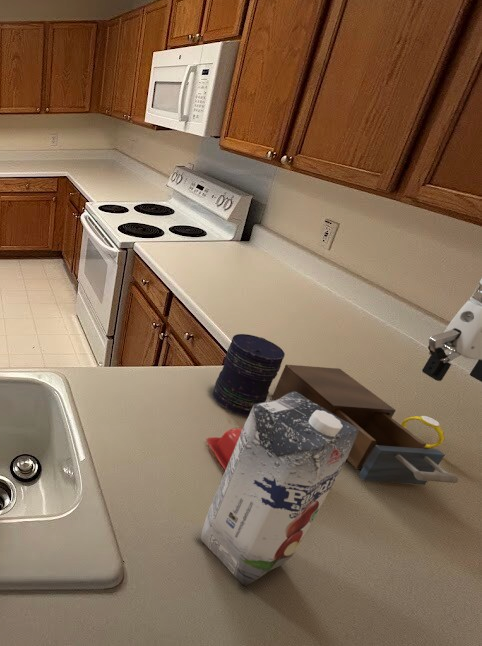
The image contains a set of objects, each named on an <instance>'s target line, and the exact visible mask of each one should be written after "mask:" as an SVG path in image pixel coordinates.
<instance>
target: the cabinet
mask: <svg viewBox="0 0 482 646" xmlns="http://www.w3.org/2000/svg"><path fill="white" fill-rule="evenodd" d="M293 391H295V392H297V393H299V394H301V395H302V396H304V397H305V398H307V399H309V400H310V401H312V402H314V403H315V404H317V405H319V406H321V407H322V408H324V409H326V410H327V411H329V412H331V413H332V414H333V413H334V411H335V409H343V410H356V411H370V412H384V413H386V414H387V415H389V416H390V417H391V418H392V419H393V416H394V414H395V413H396V411H397V410H396V409H395V408H394V407H393V406H391V405H390V404H389V403H387V402H386V401H384V400H383V399H382V398H380V397H379V396H378V395H376V394H375V393H374V392H372V391H371V390H369V389H368V388H367V387H365V386H364V385H363V384H361V383H360V382H359V381H358V380H356V379H355V378H353V377H352V376H350V375H349V374H348V373H346V372H345V371H344V370H343V369H341V368H336V367H325V366H324V367H322V366H311V365H295V364H285V366H284V368H283V370H282V372H281V375H280V377H279V380H278V381H277V383H276V387H275V388H274V391H273V394H271V395H272V396H271V398H273V399H274V401H275V400H278V399H280V398H282V397H283V396H285V395H287V394H288V393H290V392H293Z"/></svg>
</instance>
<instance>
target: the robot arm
mask: <svg viewBox="0 0 482 646" xmlns="http://www.w3.org/2000/svg"><path fill="white" fill-rule="evenodd" d="M427 349H428V351H429V352H428V355H430V356H429V357H428V359H427V361H426V363H425V364H424V366H423V368H422V370H421V372H422V373H423V374H425V375H426V376H428V377H429V378H431V379H433V380H434V381H437V382H441V381H443V379H444V378H445V376H446V374H447V373H448V371H449V369H450V368H451V366H452V363H450V362H452V361H453V360H455V359H457V358H458V357H460V356H462V357H463V358H465V359H467V360H468V359H469V360H477V361H476V363H475V365H474V366H473V368H472V369H471V371H470V373H469V376H470V377H472V378H474V379H475V380H477V381H479V382H481V383H482V278H481V279H480V280H479V282H478V284H477V285H476V287H475V289H474V290H473V292H472V293H471V295H470V297H469V299H468V300H467V301H466V302H465V303H464V304H463V306H461V308H460V309H459V310H458V311H457V313H456V314H455V315H454V316H453V318H452V319H451V320H450V322H449V324H447V326H446V328H445V330H444V331H443V332H441V333H437V334H435V335H431V336H429V338H428V346H427ZM446 351H449V352H448V353H447V354H446Z"/></svg>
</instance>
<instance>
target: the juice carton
mask: <svg viewBox="0 0 482 646" xmlns="http://www.w3.org/2000/svg"><path fill="white" fill-rule="evenodd" d="M242 428H243V430H242V432H241V434H240V437H239V439H238V441H237V444H236V446H235V449H234V451H233V453H232V456H231V458H230V461H229V463H228V465H227V468H226V470H224V473H223V475H222V478H221V480H220V482H219V485H218V487H217V489H216V491H215V495H214V497H213V499H212V501H211V504H210V507H209V508H208V511H207V513H206V516H205V520H204V524H203V527H202V531H201V534H200V539H201V541H202V542H203V544H204V546H206V547H207V548H208V549H209V550H210V551H211V552H212V554H213V555H214V556H216V558H217V559H218V560H219V561H220V562H221V563H222V564H223V565H224V566H225V567H226V568H227V570H228V571H229V572H230V573H231V574H232V575H233V577H235V578H236V580H237V581H238V582H239V583H240V584H241V585H243V586H249V585H251V584H253V583H254V582H256V581H257V580H259V579H260V578H262V577H263V576H264V575H265V574H267V573H268V572H271V571H273V570H274V569H277V568H279V567H280V566H281V565H284V563H286V562H287V561H289V560H290V559H291V558H292V557H293V556H294V554H295V552H296V551H297V549H298V548H299V546H300V544H301V543H302V540H303V539H304V537H305V535H306V534H307V532H308V530H309V528H310V527H311V524H312V523H313V521H314V519H315V518H316V516H317V514H318V513H319V511H320V509H321V507H322V505H323V504H324V501H325V500H326V498H327V496H328V494H329V493H330V492H331V491H330V490H331V489H332V487H333V485H334V484H335V481H336V480H337V478H338V476H339V475H340V473H341V471H342V469H343V467H344V465H345V463H346V462H347V461H348V460H347V457H348V455H349V453H350V450H351V448H352V446H353V443H354V441H355V439H356V437H357V434H358V432H359V429H357V428H356V427H355V426H353V425H351V424H349V423H348V422H346V421H344V420H342V419H341V418H339V417H337V416H336V415H334V414H332V413H331V412H329V411H327V410H326V409H324V408H322V407H321V406H319V405H317V404H315V403H314V402H312V401H310V400H309V399H307V398H305V397H304V396H302V395H301V394H299V393H297V392H295V391H293V392H290V393H288V394H287V395H285V396H283V397H282V398H280V399H278V400H275V399H274V400H270V401H266V402H263V403H258V404H255V405H253V407H252V410H251V412H250V414H249V417H248V416H247V419H246V421H245V423H244V425H243V427H242Z"/></svg>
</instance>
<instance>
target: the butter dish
mask: <svg viewBox="0 0 482 646" xmlns="http://www.w3.org/2000/svg"><path fill="white" fill-rule="evenodd" d="M242 430H243V427H239V428H238V427H236V428H230V429H228V430H226V431H225V432H224V433H223V435H222V436H221V437H219V436H218V437H217V436H215V437H207V438H206V440H205V441H206V443H207V444H208V446H209V448H210V449H211V451H212V453H213V454H214V457H216V459H217V460H218V462H219V463H220V465H221V466H222V469H223V470H224V471H225V470H226V468H227V465H228V463H229V461H230V458H231V456H232V453H233V451H234V449H235V446H236V444H237V441H238V439H239V437H240V434H241V432H242Z"/></svg>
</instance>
